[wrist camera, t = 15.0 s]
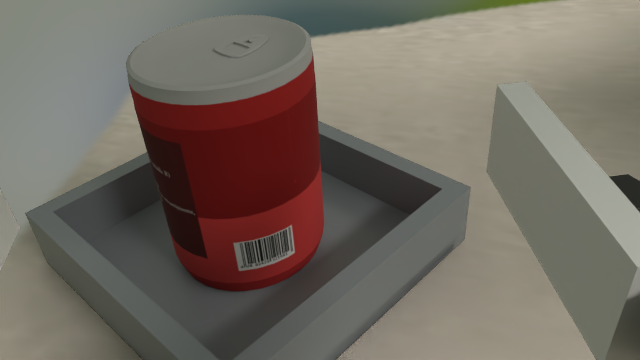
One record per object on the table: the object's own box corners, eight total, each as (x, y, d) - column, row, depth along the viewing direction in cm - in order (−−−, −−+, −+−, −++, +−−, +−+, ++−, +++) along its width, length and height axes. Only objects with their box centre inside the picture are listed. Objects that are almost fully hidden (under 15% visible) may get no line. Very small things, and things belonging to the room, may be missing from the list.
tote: (265, 140, 41) (260, 95, 39) (464, 239, 31) (470, 187, 29) (47, 263, 32) (25, 213, 30) (235, 453, 22) (221, 399, 20)
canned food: (349, 215, 32) (342, 23, 26) (276, 318, 27) (243, 105, 20) (234, 183, 35) (202, 5, 29) (146, 269, 30) (82, 71, 23)
